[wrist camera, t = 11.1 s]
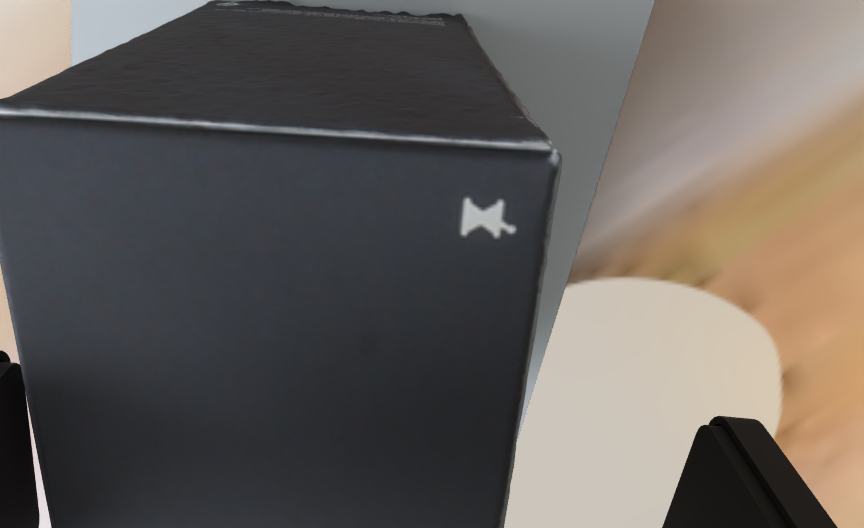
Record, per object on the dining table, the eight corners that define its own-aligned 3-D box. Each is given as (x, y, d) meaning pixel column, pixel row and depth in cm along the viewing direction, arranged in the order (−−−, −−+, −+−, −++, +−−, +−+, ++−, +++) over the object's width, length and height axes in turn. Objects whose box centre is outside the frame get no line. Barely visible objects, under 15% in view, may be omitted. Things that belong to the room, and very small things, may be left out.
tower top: (603, -21, 21) (657, -9, 17) (496, 358, 26) (517, 438, 22) (137, -127, 19) (71, -140, 15) (121, 304, 24) (69, 380, 20)
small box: (186, -10, 16) (-80, 82, 7) (475, 12, 17) (597, 124, 7) (209, 386, 21) (67, 777, 11) (437, 392, 21) (486, 768, 12)
